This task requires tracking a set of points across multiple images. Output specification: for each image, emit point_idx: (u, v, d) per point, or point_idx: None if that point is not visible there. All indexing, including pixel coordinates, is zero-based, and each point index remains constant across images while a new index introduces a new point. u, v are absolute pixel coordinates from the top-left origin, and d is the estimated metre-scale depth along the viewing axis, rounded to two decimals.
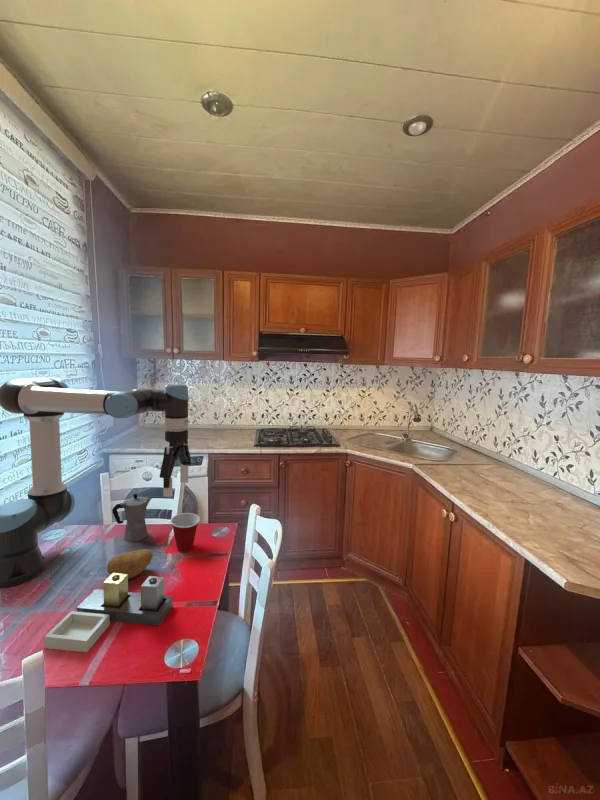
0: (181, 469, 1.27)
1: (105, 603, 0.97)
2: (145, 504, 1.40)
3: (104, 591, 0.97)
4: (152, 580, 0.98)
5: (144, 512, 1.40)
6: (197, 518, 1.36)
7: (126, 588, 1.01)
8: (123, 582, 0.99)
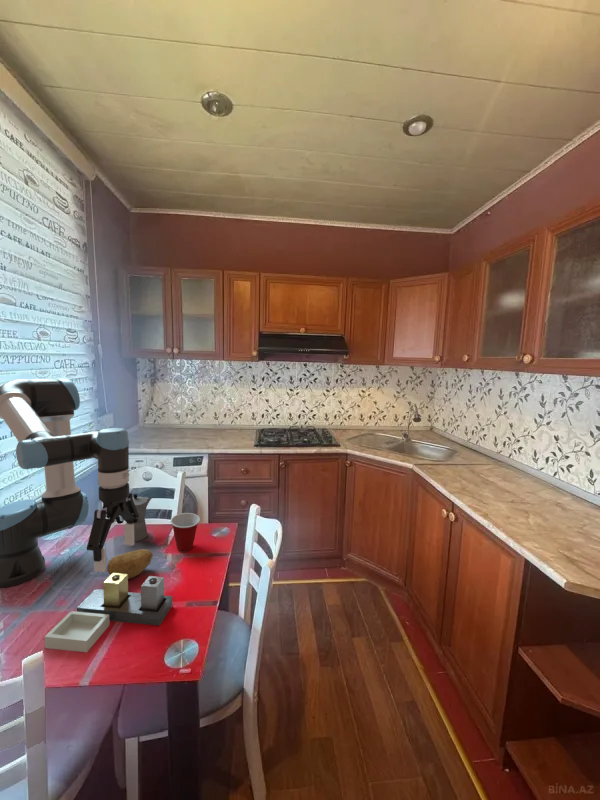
0: (125, 529, 1.04)
1: (105, 603, 0.97)
2: (145, 504, 1.40)
3: (104, 591, 0.97)
4: (152, 580, 0.98)
5: (144, 512, 1.40)
6: (197, 518, 1.36)
7: (126, 588, 1.01)
8: (123, 582, 0.99)
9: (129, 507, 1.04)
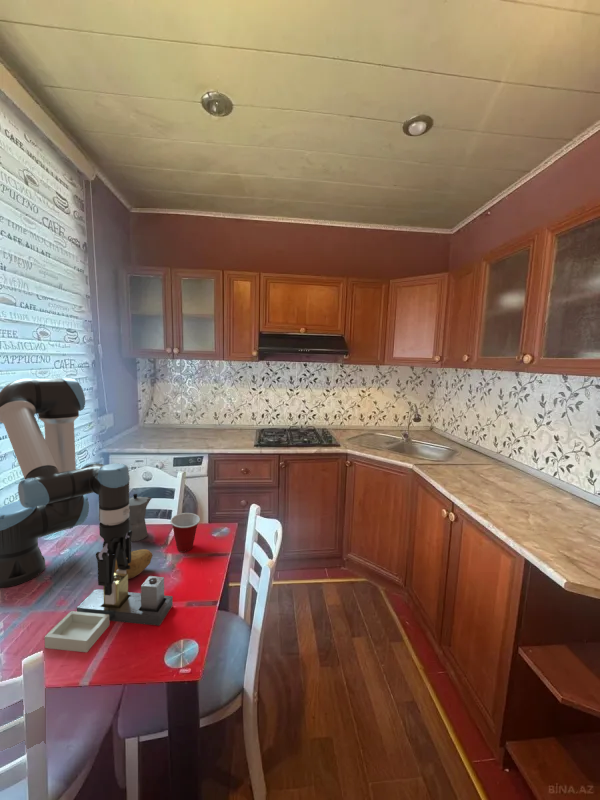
0: None
1: None
2: (145, 504, 1.40)
3: None
4: (152, 580, 0.98)
5: (144, 512, 1.40)
6: (197, 518, 1.36)
7: (126, 588, 1.01)
8: (124, 582, 0.99)
9: (125, 547, 1.03)
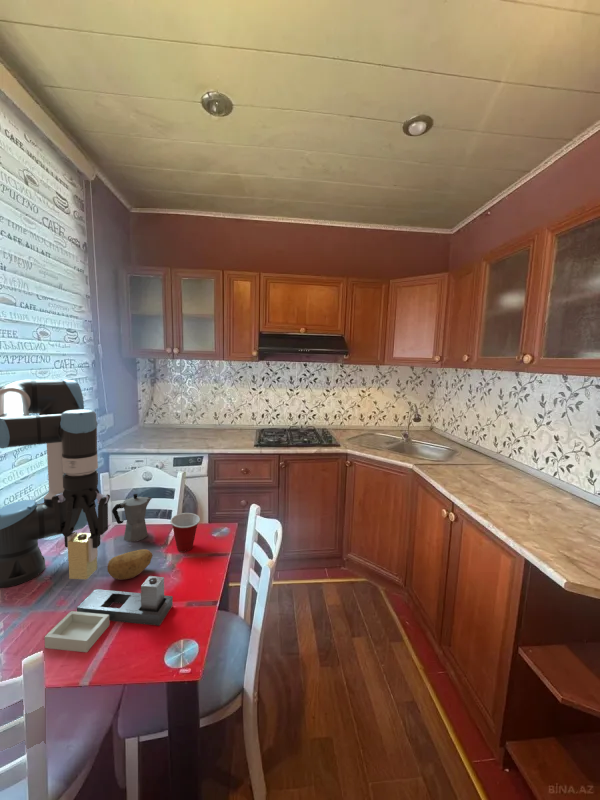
0: None
1: None
2: (145, 504, 1.40)
3: None
4: (152, 580, 0.98)
5: (144, 512, 1.40)
6: (197, 518, 1.36)
7: (83, 557, 0.87)
8: (78, 546, 0.87)
9: None
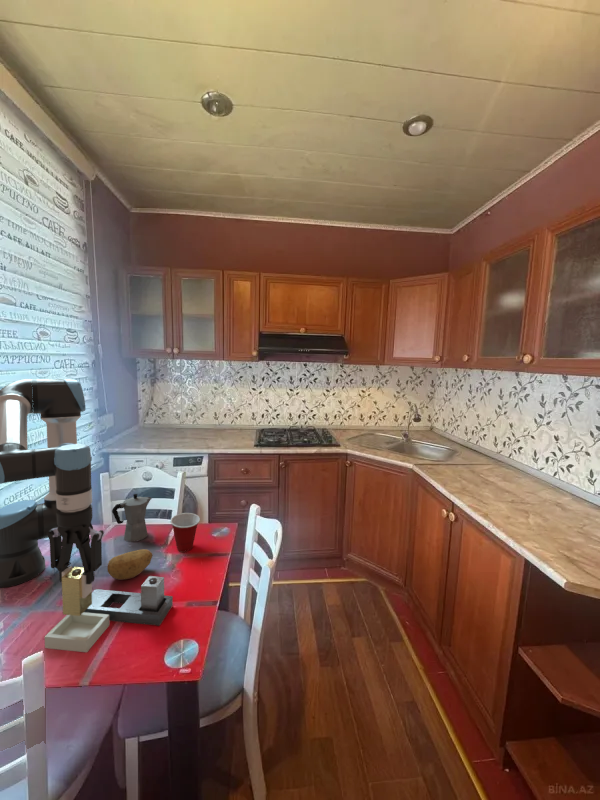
0: None
1: None
2: (145, 504, 1.40)
3: None
4: (152, 580, 0.98)
5: (144, 512, 1.40)
6: (197, 518, 1.36)
7: (76, 593, 0.86)
8: (71, 582, 0.86)
9: None
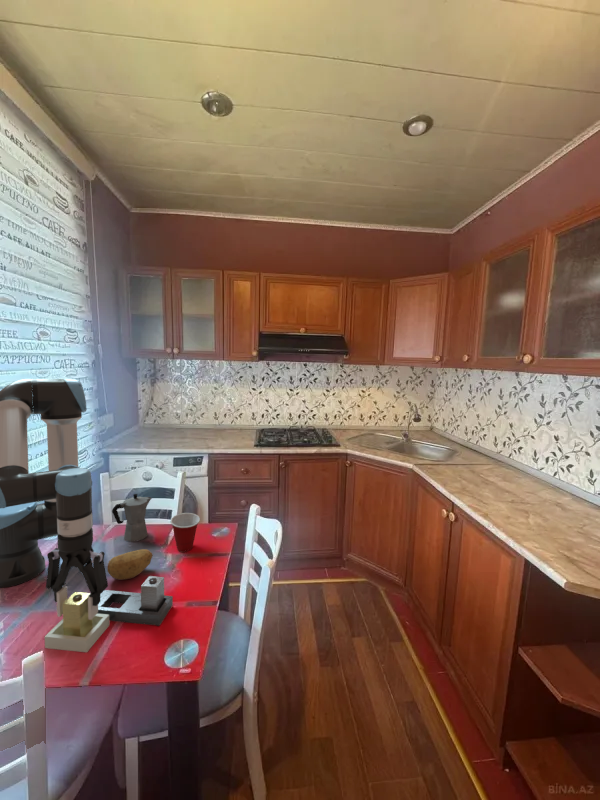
0: None
1: None
2: (145, 504, 1.40)
3: None
4: (152, 580, 0.98)
5: (144, 512, 1.40)
6: (197, 518, 1.36)
7: (77, 619, 0.87)
8: (72, 609, 0.87)
9: None
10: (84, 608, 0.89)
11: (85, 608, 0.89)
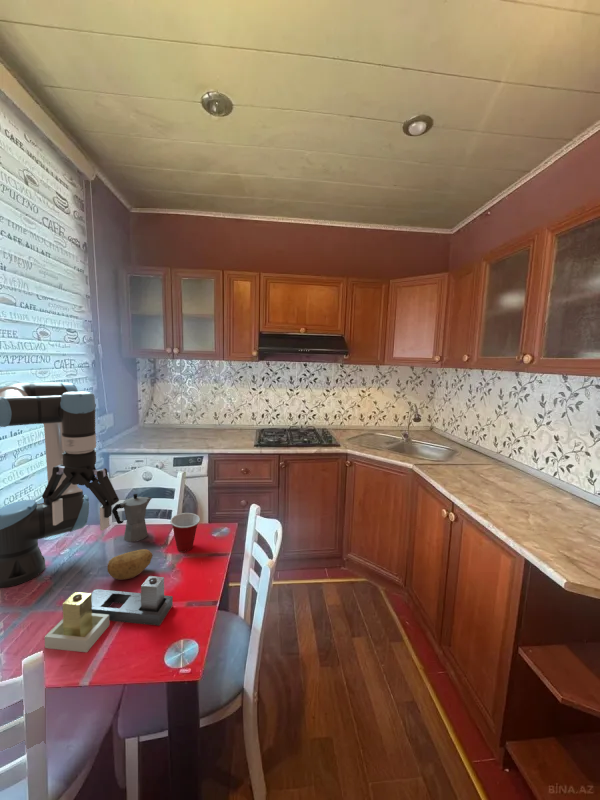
0: None
1: None
2: (145, 504, 1.40)
3: None
4: (152, 580, 0.98)
5: (144, 512, 1.40)
6: (197, 518, 1.36)
7: (77, 619, 0.87)
8: (72, 609, 0.87)
9: None
10: (84, 608, 0.89)
11: (85, 608, 0.89)
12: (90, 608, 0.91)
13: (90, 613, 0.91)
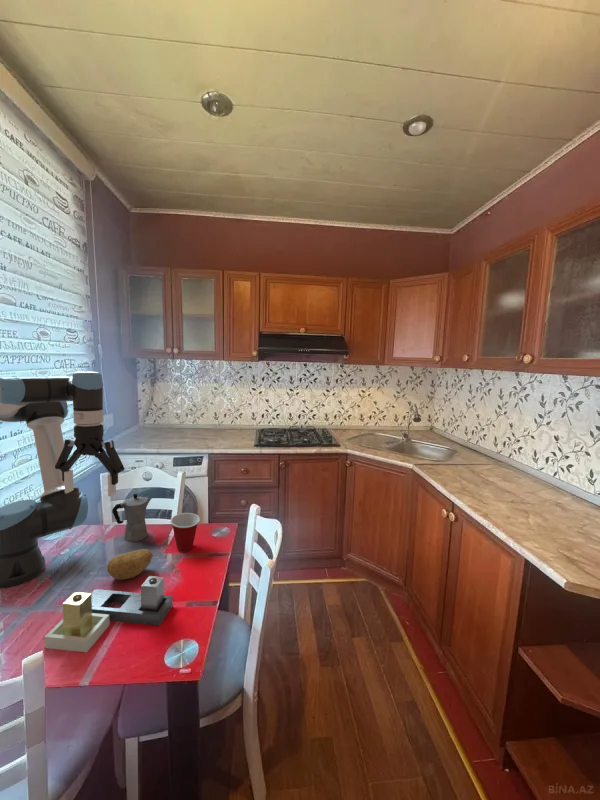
0: None
1: None
2: (145, 504, 1.40)
3: None
4: (152, 580, 0.98)
5: (144, 512, 1.40)
6: (197, 518, 1.36)
7: (77, 619, 0.87)
8: (72, 609, 0.87)
9: None
10: (84, 608, 0.89)
11: (85, 608, 0.89)
12: (90, 608, 0.91)
13: (90, 613, 0.91)
